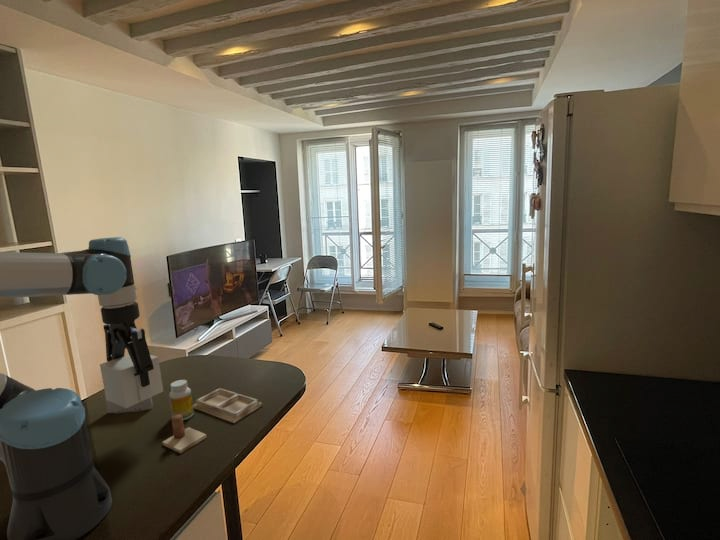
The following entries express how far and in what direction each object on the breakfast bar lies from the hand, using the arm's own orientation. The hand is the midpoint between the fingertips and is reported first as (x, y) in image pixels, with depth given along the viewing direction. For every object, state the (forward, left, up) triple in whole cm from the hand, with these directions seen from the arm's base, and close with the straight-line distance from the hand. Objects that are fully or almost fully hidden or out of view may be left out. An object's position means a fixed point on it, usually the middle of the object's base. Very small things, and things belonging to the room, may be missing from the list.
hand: (134, 393), depth 96 cm
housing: (0, 0, 0) cm, 0 cm away
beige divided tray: (+20, -8, -11) cm, 24 cm away
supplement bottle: (+11, -1, -11) cm, 16 cm away
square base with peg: (+4, -12, -11) cm, 17 cm away
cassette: (+6, +16, -12) cm, 21 cm away
